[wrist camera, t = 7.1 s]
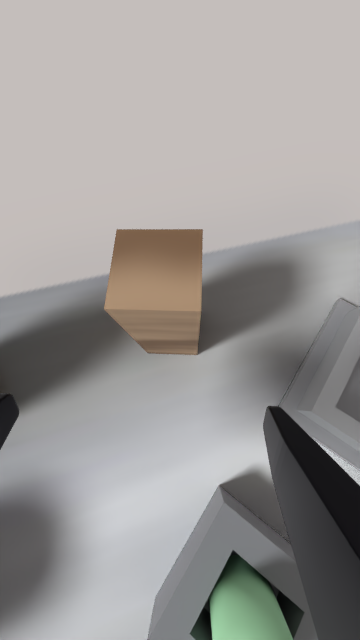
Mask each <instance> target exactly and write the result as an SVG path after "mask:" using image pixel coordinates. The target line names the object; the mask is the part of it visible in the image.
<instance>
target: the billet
mask: <svg viewBox="0 0 360 640" xmlns="http://www.w3.org/2000/svg"><path fill="white" fill-rule="evenodd" d="M202 233H203V230H202V229H201V230H200V229H199V230H198V229H196V230H194V229H193V230H192V229H191V230H190V229H187V230H186V229H185V230H117V231H116V238H115V244H114V251H113V257H112V262H111V269H110V275H109V281H108V287H107V293H106V300H105V306H104V310H105V311H106V312H107V313H108V314H109V315H110V316H111V317H112V318H113V319H114V320H115V321H116V322H117V323H118V324H119V325H120V326H121V327H122V328H123V329H124V330H125V331H126V332H127V333H128V334H129V335H130V336H131V337H132V338H133V339H134V340H135V341H136V342H137V343H138V344H139V345H140V346H141V347H142V348H143V349H144V350H145V351H146V352H147V353H156V354H185V355H197V351H198V341H199V330H200V319H201V295H202Z"/></svg>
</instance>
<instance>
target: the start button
mask: <svg viewBox="0 0 360 640" xmlns="http://www.w3.org/2000/svg"><path fill="white" fill-rule="evenodd" d="M209 603H210V615H211V628H212V640H293V638H292V635H291V633H290V631H289V628H288V626H287V623H286V621H285V619H284V616H283V614H282V611H281V609H280V607H279V604H278V602H277V599H276V597H275V595H274V592H273V590H272V587H271V585H270V583H269V581H268V580H267V579H266V578H265V577H264V576H263V575H261V574H260V573H259V572H258V571H257V570H256V569H255V568H253V567H252V566H251V565H250V564H249V563H248V562H247V561H245V560H244V559H243V558H242V557H241V556H240V555H231V556H229V558H228V560H227V562H226V564H225V566H224V568H223V570H222V572H221V574H220V576H219V578H218V580H217V582H216V584H215V586H214V588H213V589H212V591H211V593H210V595H209Z"/></svg>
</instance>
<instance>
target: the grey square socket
mask: <svg viewBox="0 0 360 640" xmlns="http://www.w3.org/2000/svg"><path fill="white" fill-rule="evenodd" d="M279 407H281V408H282V409H283V410H284V411H285V412H286V413H287V414H288V415H289V416H290V417H291V418H292V419H293V420H294V421H295V422H296V423H297V424H298V425H299V426H300V427H301V428H302V429H303V430H304V431H305V432H306V433H307V434H308V435H309V436H310V437H311V438H313V439H314V440H316V441H317V442H319V443H320V444H322V445H323V446H324V447H326V448H327V449H329V450H330V451H332V452H333V453H335V454H336V455H338V456H339V457H340V458H342V459H343V460H345V461H346V462H348V463H349V464H351V465H352V466H354V467H355V468H356V469H358V470H359V471H360V306H359V307H356V306H354V305H352V304H350V303H348V302H346V301H344V300H343V299H341V298H340V299H338V300H337V301H336V303H335V304H334V306H333V308H332V310H331V312H330V313H329V315H328V317H327V319H326V321H325V323H324V324H323V326H322V328H321V330H320V332H319V334H318V335H317V337H316V339H315V341H314V343H313V345H312V346H311V348H310V350H309V352H308V354H307V355H306V357H305V359H304V361H303V363H302V365H301V366H300V368H299V370H298V372H297V374H296V376H295V377H294V379H293V381H292V383H291V385H290V387H289V388H288V390H287V392H286V394H285V396H284V397H283V399H282V401H281V403H280V405H279Z"/></svg>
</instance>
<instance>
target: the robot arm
mask: <svg viewBox="0 0 360 640" xmlns="http://www.w3.org/2000/svg"><path fill="white" fill-rule="evenodd" d="M18 415H19V408H18V406H17V404H16V402H15V399H14V397H13V395H11V394H7V393H0V449H1V447H2V446H3V444H4V442H5V440H6V438H7V436H8V434H9V433H10V431H11V429H12V427H13V425H14V423H15V421H16V420H17V418H18ZM263 429H264V435H265V441H266V446H267V452H268V458H269V463H270V469H271V474H272V479H273V483H274V487H275V490H276V494H277V497H278V501H279V504H280V508H281V511H282V515H283V518H284V522H285V525H286V529H287V532H288V536H289V539H290V543H291V546H292V550H293V553H294V557H295V560H296V564H297V567H298V571H299V574H300V578H301V581H302V585H303V589H304V592H305V596H306V599H307V603H308V606H309V610H310V613H311V617H312V620H313V624H314V627H315V631H316V634H317V638H318V640H360V486H359V485H358V484H357V483H356V482H355V481H354V480H353V479H352V478H351V477H350V476H349V475H348V474H347V473H346V472H345V471H344V470H343V469H342V468H341V467H340V466H339V465H338V464H337V463H336V462H335V461H334V460H333V459H332V458H331V457H330V456H329V455H328V454H327V453H326V452H325V451H324V450H323V449H322V448H321V447H320V446H319V445H318V444H317V443H316V442H315V441H314V440H313V439H312V438H311V437H310V436H309V435H308V434H307V433H306V432H305V431H304V430H303V429H302V428H301V427H300V426H299V425H298V424H297V423H296V422H295V421H294V420H293V419H292V418H291V417H290V416H289V415H288V414H287V413H286V412H285V411H284V410H283V409H282V408H281V407H279V406H268V407H267V409H266V414H265V418H264V423H263Z"/></svg>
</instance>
